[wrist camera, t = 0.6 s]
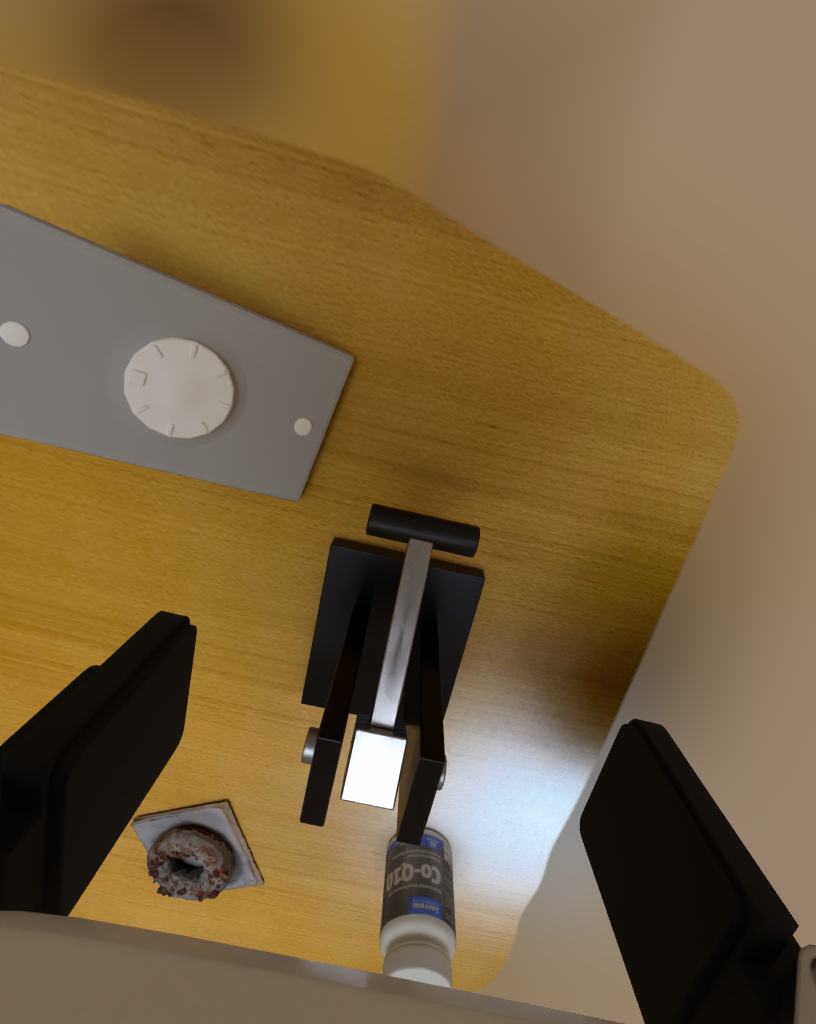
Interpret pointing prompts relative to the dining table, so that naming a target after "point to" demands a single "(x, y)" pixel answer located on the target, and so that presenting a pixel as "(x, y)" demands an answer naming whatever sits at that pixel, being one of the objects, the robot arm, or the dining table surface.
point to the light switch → (154, 366)
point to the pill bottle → (419, 911)
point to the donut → (196, 852)
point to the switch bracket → (356, 665)
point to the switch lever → (397, 653)
